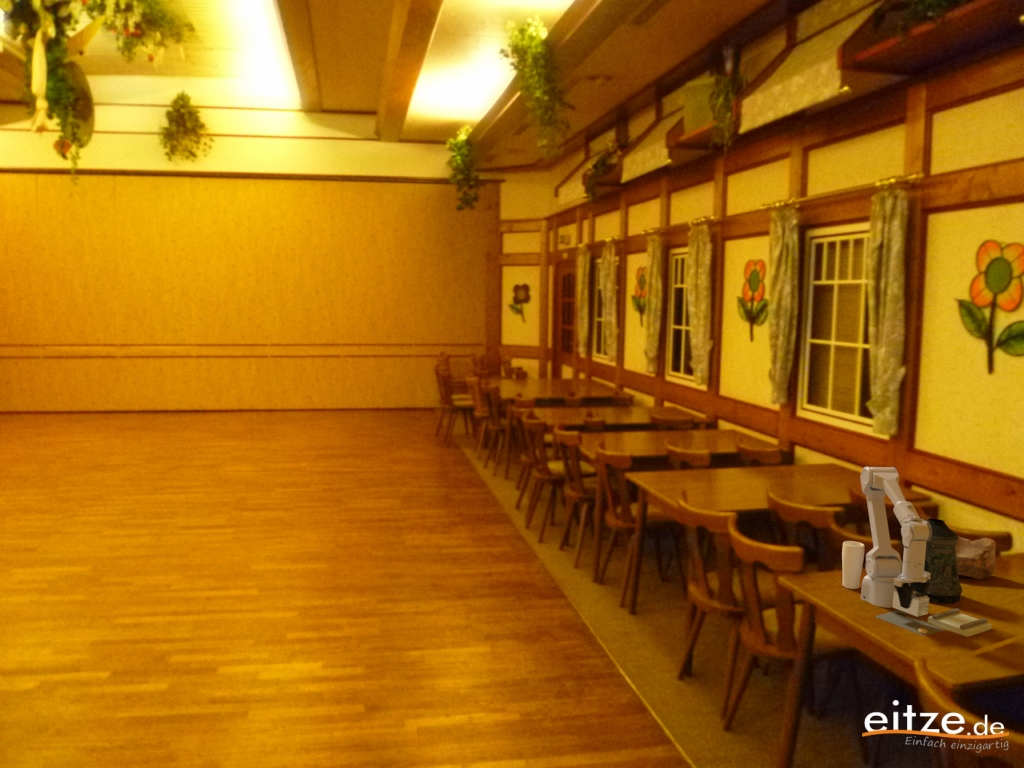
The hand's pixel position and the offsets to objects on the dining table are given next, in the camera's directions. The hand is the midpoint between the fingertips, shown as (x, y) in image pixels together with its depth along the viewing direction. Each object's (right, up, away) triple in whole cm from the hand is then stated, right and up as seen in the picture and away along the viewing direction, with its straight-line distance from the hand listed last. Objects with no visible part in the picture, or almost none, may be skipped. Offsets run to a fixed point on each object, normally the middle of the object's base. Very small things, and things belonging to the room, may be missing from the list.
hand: (910, 605), depth 239 cm
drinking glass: (-4, -3, +33) cm, 33 cm away
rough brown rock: (+40, -2, +49) cm, 63 cm away
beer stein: (+20, -4, +28) cm, 35 cm away
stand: (+14, -7, 0) cm, 16 cm away
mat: (0, -6, +1) cm, 6 cm away
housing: (0, -1, 0) cm, 1 cm away
